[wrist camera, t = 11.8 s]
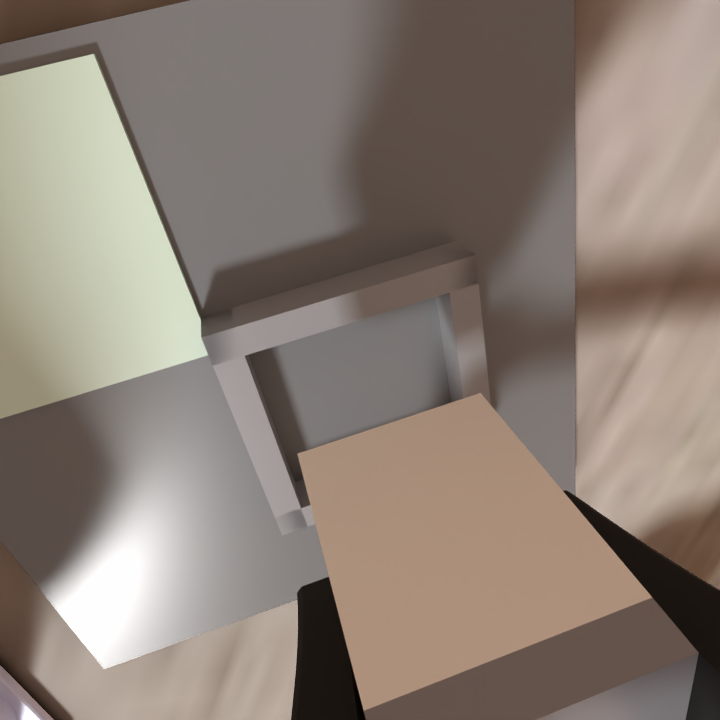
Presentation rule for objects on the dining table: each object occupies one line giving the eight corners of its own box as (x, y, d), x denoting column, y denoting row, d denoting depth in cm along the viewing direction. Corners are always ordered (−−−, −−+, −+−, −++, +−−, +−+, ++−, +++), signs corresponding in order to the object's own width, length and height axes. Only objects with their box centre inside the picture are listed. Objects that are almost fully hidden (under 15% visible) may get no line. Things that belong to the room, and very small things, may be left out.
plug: (340, 579, 13) (430, 903, 8) (296, 453, 11) (382, 783, 6) (494, 523, 14) (670, 797, 9) (480, 392, 12) (698, 653, 7)
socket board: (107, 648, 20) (73, 879, 15) (-304, 117, 11) (-848, 195, 5) (563, 485, 22) (688, 633, 17) (554, -83, 13) (834, -182, 7)
